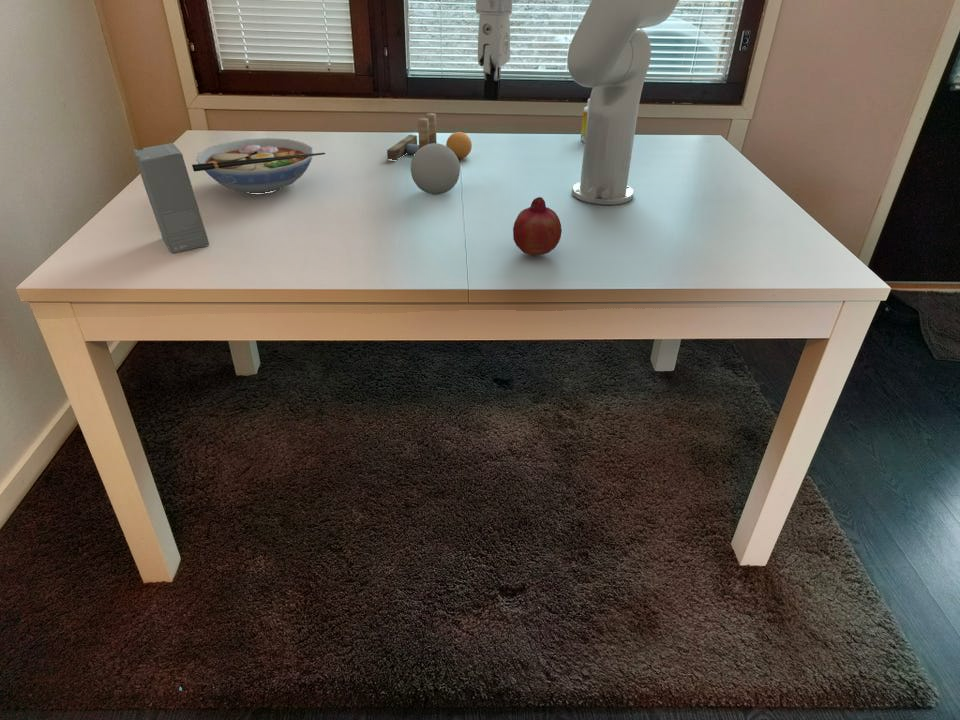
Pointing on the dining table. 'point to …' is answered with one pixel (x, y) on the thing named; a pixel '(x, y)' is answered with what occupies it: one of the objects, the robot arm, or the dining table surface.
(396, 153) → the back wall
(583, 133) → the supplement bottle
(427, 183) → the ball
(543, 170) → the dining table surface
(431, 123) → the pin
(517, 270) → the dining table surface
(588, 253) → the dining table surface
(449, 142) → the orange ball
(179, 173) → the skincare box
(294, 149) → the ramen bowl
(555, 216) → the fruit
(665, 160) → the dining table surface
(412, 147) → the front pin
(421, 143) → the pin
